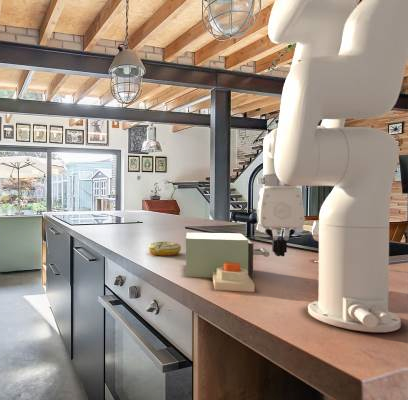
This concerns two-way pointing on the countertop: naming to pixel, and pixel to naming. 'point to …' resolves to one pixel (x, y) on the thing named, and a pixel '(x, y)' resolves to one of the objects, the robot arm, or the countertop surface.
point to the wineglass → (316, 233)
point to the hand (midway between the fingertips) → (279, 255)
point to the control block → (232, 280)
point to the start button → (232, 266)
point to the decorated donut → (164, 248)
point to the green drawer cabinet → (214, 252)
